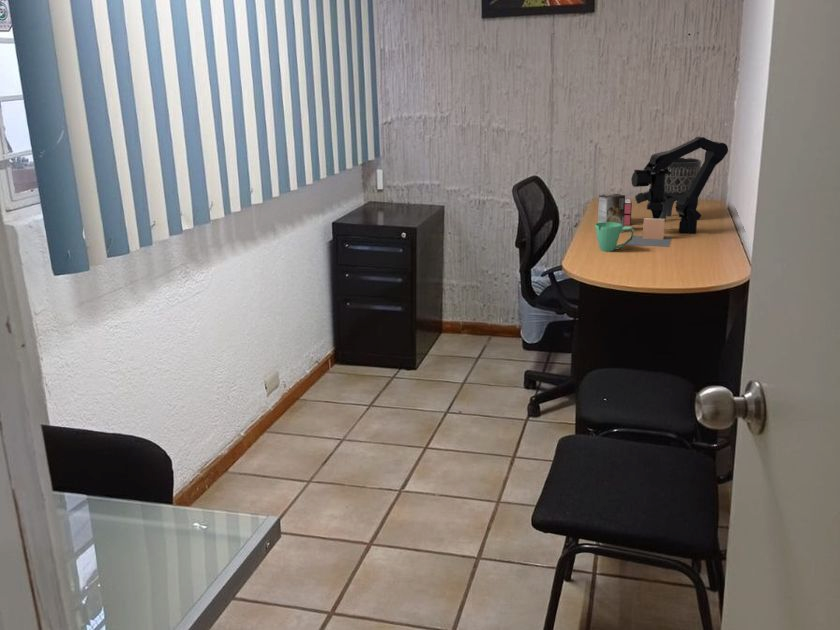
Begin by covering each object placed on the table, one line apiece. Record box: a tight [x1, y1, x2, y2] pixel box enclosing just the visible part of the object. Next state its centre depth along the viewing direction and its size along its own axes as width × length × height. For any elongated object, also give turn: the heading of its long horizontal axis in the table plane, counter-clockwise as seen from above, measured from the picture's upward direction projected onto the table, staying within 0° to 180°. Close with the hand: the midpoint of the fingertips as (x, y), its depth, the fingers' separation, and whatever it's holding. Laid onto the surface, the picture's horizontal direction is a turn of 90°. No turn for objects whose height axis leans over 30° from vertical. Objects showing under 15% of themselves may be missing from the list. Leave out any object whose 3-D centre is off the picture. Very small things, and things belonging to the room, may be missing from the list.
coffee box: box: [597, 193, 626, 233], centre depth 341 cm, size 9×6×16 cm
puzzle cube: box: [624, 198, 633, 226], centre depth 361 cm, size 10×10×10 cm
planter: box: [659, 157, 703, 222], centre depth 363 cm, size 20×20×26 cm
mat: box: [626, 235, 673, 248], centre depth 324 cm, size 16×18×1 cm
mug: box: [594, 222, 635, 253], centre depth 311 cm, size 15×10×10 cm
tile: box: [642, 217, 666, 240], centre depth 327 cm, size 8×2×8 cm, turn 71°
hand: (655, 223), depth 335 cm, fingers closed
